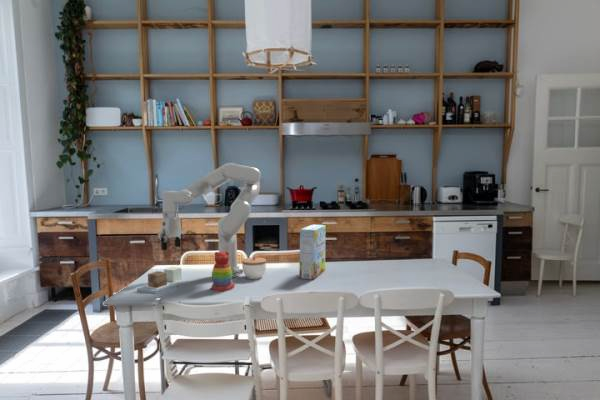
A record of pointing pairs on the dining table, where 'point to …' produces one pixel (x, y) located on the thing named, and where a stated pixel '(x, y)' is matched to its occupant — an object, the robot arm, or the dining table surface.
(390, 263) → the dining table surface
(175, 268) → the sage block
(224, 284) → the stacking bear
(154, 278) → the walnut block
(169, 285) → the board
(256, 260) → the lidded bowl
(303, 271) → the snack box
